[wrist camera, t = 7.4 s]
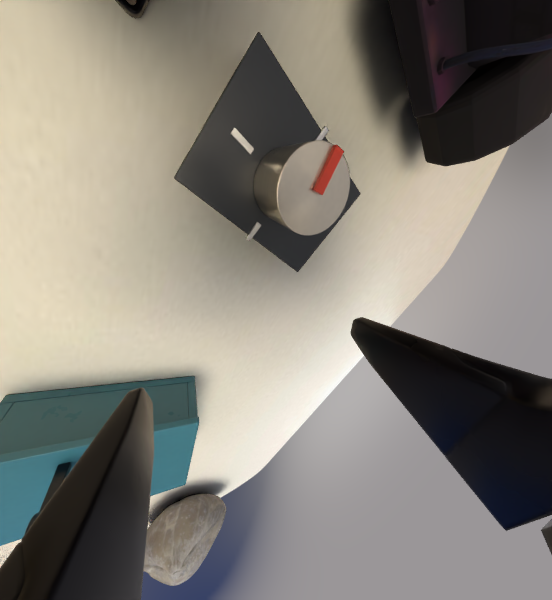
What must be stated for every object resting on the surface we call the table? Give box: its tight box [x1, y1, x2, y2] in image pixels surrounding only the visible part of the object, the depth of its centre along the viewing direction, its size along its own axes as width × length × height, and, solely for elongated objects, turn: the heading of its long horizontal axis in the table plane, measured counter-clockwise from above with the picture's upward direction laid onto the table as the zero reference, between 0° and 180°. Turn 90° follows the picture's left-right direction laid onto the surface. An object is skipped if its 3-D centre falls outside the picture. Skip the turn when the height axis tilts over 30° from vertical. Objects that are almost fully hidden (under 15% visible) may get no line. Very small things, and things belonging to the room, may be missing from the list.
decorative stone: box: [143, 494, 226, 586], centre depth 35 cm, size 15×10×15 cm
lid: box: [0, 417, 199, 546], centre depth 16 cm, size 12×15×5 cm
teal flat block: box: [0, 376, 198, 455], centre depth 21 cm, size 12×15×5 cm
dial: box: [254, 140, 350, 235], centre depth 12 cm, size 4×4×4 cm
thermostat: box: [174, 32, 360, 272], centre depth 15 cm, size 11×9×3 cm
